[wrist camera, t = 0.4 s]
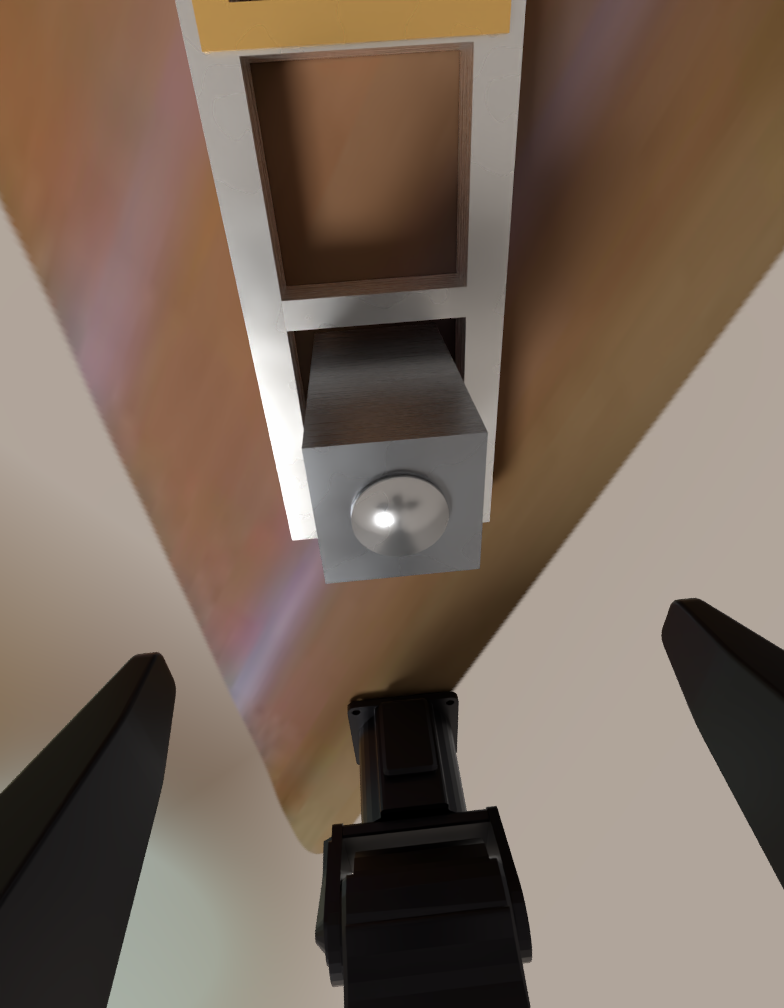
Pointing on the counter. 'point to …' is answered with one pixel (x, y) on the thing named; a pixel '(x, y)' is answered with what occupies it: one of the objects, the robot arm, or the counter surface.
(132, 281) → the counter surface
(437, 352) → the gray knob block
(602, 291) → the counter surface
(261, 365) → the socket frame
